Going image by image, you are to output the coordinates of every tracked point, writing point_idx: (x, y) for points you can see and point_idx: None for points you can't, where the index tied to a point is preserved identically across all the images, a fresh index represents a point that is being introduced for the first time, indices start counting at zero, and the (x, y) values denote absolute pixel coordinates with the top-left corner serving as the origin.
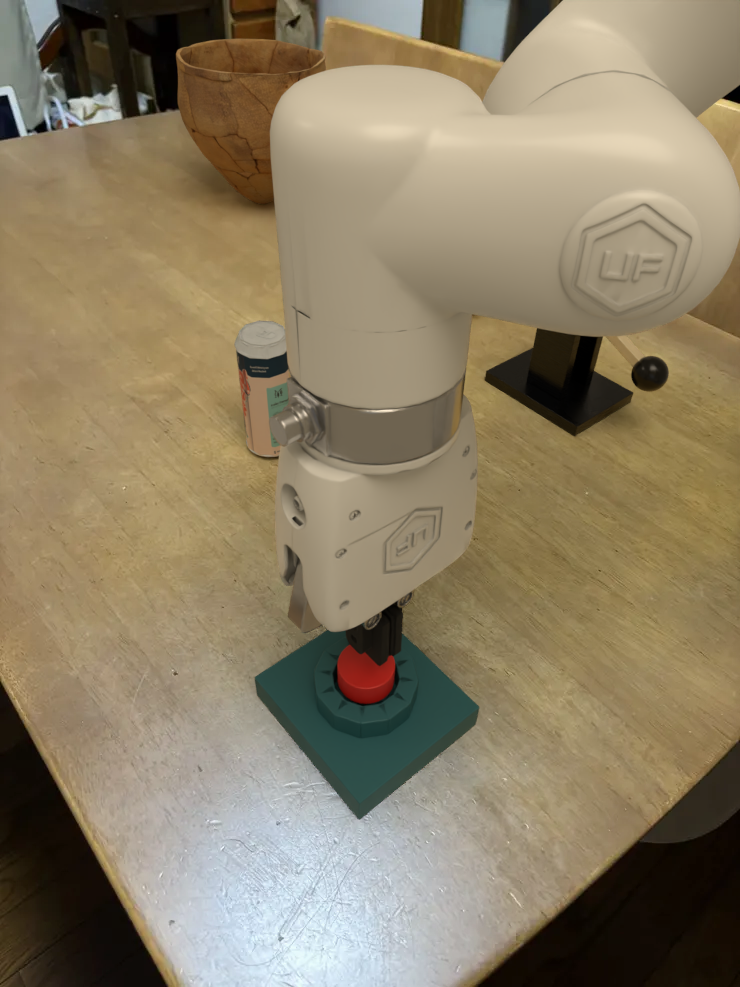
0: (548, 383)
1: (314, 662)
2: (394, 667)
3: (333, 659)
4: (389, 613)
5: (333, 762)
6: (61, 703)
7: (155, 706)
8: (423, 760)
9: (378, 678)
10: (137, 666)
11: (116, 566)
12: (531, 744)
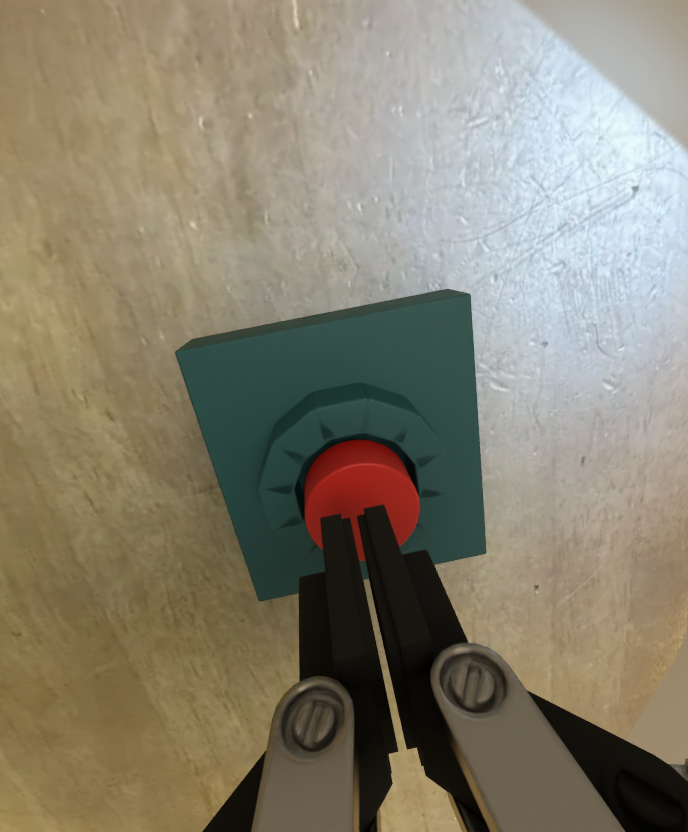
0: None
1: None
2: (317, 486)
3: None
4: (372, 666)
5: (465, 379)
6: (660, 597)
7: (579, 556)
8: (318, 318)
9: (359, 478)
10: (568, 610)
11: None
12: (110, 257)
